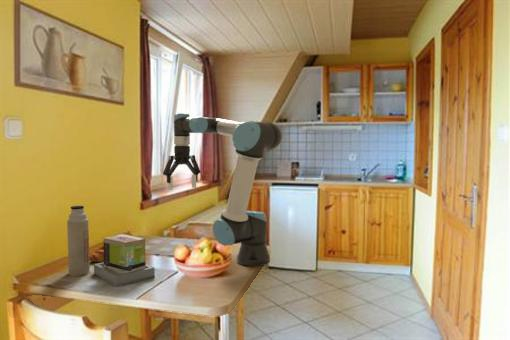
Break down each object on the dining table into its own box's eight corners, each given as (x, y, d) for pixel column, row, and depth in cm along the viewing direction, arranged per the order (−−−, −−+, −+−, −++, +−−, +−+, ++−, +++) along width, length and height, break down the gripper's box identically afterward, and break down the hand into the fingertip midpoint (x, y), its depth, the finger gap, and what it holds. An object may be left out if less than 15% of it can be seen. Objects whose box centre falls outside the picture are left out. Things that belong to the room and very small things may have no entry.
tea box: (146, 273, 161) (146, 237, 160) (125, 280, 153) (125, 242, 152) (124, 266, 170) (123, 232, 169) (103, 273, 162) (102, 237, 161)
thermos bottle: (93, 270, 168) (92, 205, 166) (81, 276, 160) (79, 208, 158) (76, 269, 169) (75, 204, 168) (64, 275, 162) (62, 207, 160)
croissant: (126, 259, 195) (122, 244, 197) (137, 253, 190) (132, 237, 192) (85, 269, 179) (81, 252, 181) (95, 262, 173) (90, 245, 175)
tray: (154, 277, 159) (154, 267, 159) (116, 287, 148) (116, 276, 148) (130, 265, 175) (130, 256, 174) (94, 273, 164) (93, 264, 163)
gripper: (163, 145, 182) (164, 191, 183) (207, 145, 199) (207, 187, 200) (155, 145, 187) (155, 189, 188) (198, 145, 204) (198, 186, 206)
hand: (182, 188), depth 194 cm, fingers open, 13 cm apart
